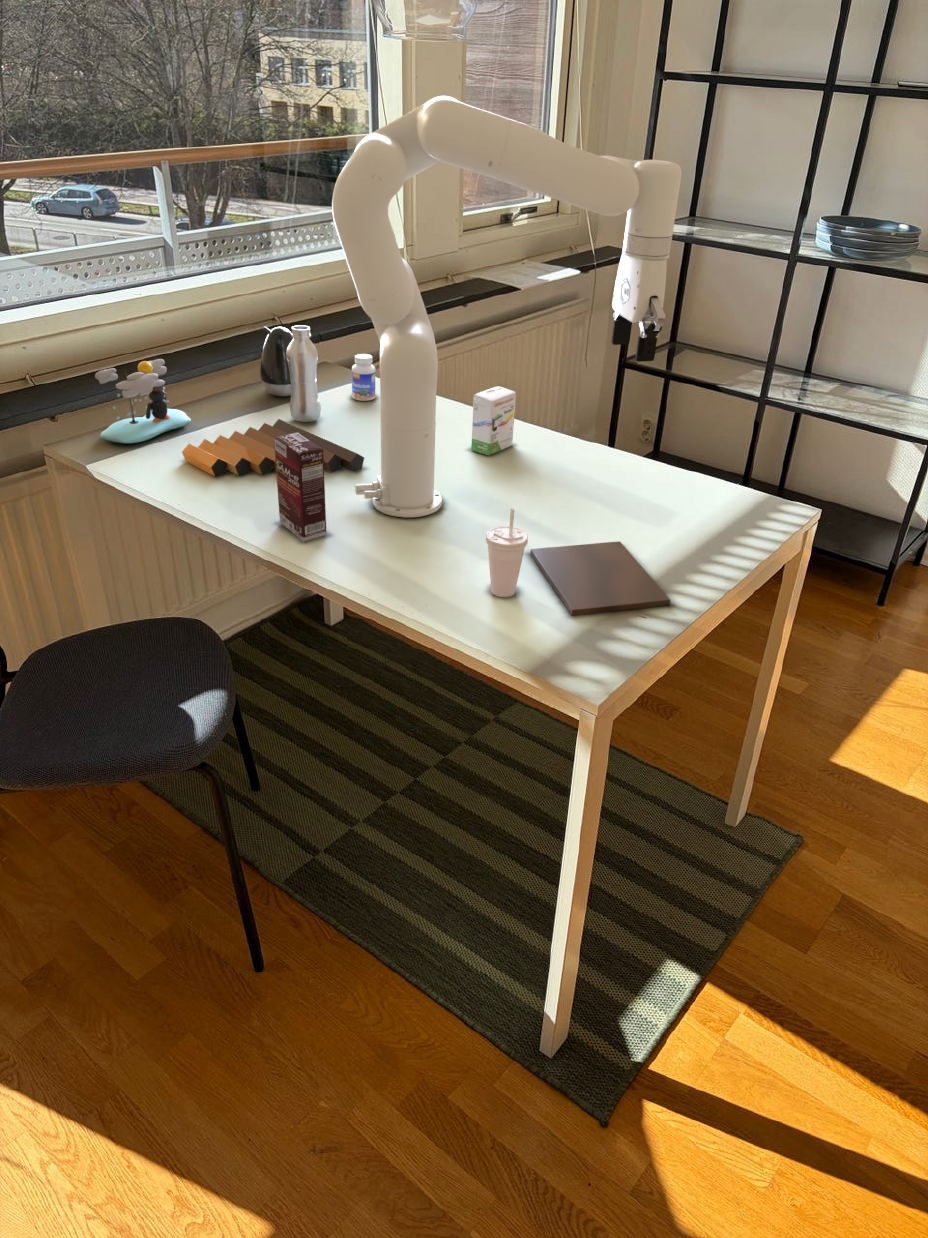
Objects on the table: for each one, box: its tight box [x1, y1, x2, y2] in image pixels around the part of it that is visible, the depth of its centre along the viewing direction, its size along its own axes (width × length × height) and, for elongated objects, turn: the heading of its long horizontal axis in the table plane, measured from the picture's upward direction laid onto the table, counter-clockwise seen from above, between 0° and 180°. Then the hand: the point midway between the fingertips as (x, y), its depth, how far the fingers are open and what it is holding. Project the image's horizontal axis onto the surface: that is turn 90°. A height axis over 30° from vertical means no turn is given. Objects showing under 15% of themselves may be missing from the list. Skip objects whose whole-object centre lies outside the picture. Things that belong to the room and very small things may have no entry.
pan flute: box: [181, 418, 365, 477], centre depth 186 cm, size 25×3×25 cm
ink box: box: [470, 385, 517, 456], centre depth 196 cm, size 8×5×12 cm, turn 141°
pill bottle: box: [351, 353, 376, 402], centre depth 220 cm, size 5×5×10 cm
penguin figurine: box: [94, 358, 193, 444], centre depth 195 cm, size 20×11×15 cm, turn 144°
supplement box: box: [274, 432, 328, 543], centre depth 159 cm, size 9×5×16 cm, turn 37°
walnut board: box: [529, 540, 671, 616], centre depth 153 cm, size 16×20×1 cm
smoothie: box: [484, 508, 529, 598], centre depth 145 cm, size 6×6×14 cm
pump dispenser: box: [259, 326, 293, 397], centre depth 220 cm, size 10×10×15 cm
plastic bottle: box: [286, 325, 322, 423], centre depth 204 cm, size 6×7×20 cm
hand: (631, 352), depth 162 cm, fingers open, 9 cm apart
